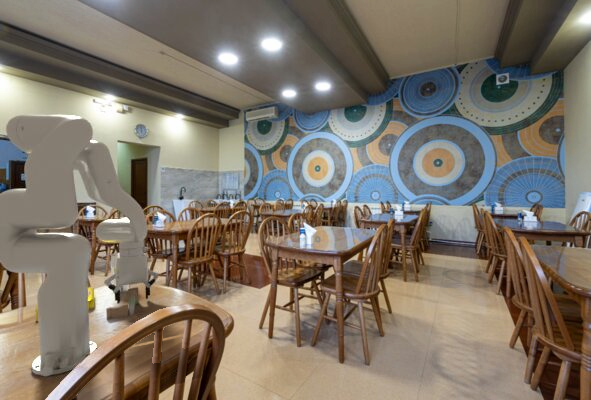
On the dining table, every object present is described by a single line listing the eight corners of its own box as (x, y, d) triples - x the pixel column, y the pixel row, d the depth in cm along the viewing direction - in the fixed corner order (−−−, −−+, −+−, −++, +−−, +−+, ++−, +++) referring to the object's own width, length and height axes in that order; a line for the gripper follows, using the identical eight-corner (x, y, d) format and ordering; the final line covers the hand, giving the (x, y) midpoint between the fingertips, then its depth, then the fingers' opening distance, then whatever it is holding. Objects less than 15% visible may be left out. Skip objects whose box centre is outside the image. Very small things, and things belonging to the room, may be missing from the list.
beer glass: (107, 291, 112) (106, 255, 112) (123, 286, 119) (122, 251, 118) (119, 294, 110) (118, 256, 109) (135, 288, 116) (134, 252, 115)
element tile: (94, 312, 96) (93, 298, 96) (35, 324, 88) (34, 309, 87) (94, 297, 108) (93, 285, 108) (42, 306, 100) (41, 293, 99)
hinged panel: (137, 311, 94) (136, 295, 94) (126, 313, 93) (126, 297, 93) (138, 301, 103) (138, 286, 102) (129, 302, 101) (129, 287, 101)
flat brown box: (172, 317, 92) (172, 306, 92) (102, 330, 83) (102, 318, 83) (169, 296, 109) (169, 286, 109) (111, 305, 100) (110, 295, 100)
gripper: (158, 247, 107) (159, 292, 108) (104, 251, 99) (105, 300, 100) (159, 251, 100) (160, 299, 101) (100, 257, 92) (102, 308, 93)
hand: (133, 299), depth 101 cm, fingers open, 8 cm apart
